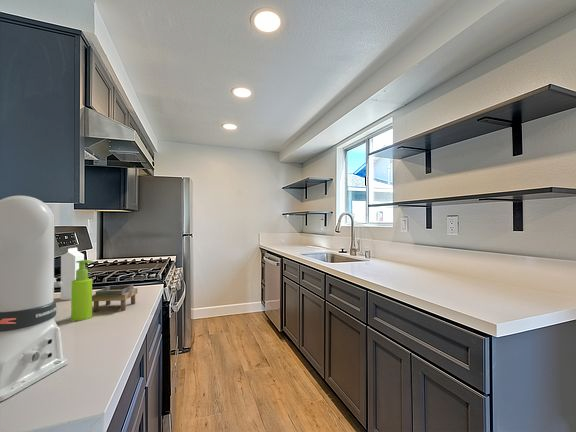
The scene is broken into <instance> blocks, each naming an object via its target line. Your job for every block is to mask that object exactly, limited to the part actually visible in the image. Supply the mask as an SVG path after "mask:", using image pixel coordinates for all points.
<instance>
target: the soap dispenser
mask: <svg viewBox="0 0 576 432" xmlns="http://www.w3.org/2000/svg"><path fill="white" fill-rule="evenodd" d="M94 262H95V261H93V260H91V259H84V260H81V261H76V263H79V269H78V270H76V280H73V281H72V282H71V300H70V302H71V306H70V307H71V310H70V311H71V312H70V313H71V316H70V317H71V318H70V320H71V321H72V322H77V321H85V320H89V319H91V318H92V317H93V301H92V295H93V278H89V270H88V268H86V264H94Z"/></svg>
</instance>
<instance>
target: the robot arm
mask: <svg viewBox="0 0 576 432" xmlns="http://www.w3.org/2000/svg"><path fill="white" fill-rule="evenodd" d="M61 286H62V282H61V281H57V278H56V277H55V215H54V213H53V211H52V209H51V208H50V206H49V205H47V204H46V203H45V202H44V201H42V200H40V199H38V198H37V197H33V196H30V195H29V196H28V195H12V196H7V197H4V198H2V199H0V402H3V401H5V400H8V398H11V397H12V396H14V395H16V394H18V393H19V392H21V391H23V390H24V389H26V388H28V387H30V386H31V385H33V384H35V383H37V382H38V381H40V380H42V379H43V378H45V377H47V376H49V375H51V374H52V373H54V372H56V371H57V370H60V369H61V368H62V367H64V366H66V365H68V358H67V357H65V356H64V355H63V354H64V353H63V345H62V336H61V335H62V334H61V329H60V327H59V325H58V324H57V322H56V320H55V316H56V315H57V309H58V307H57V301H56V300H55V288H61Z"/></svg>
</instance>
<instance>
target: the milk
mask: <svg viewBox="0 0 576 432" xmlns="http://www.w3.org/2000/svg"><path fill="white" fill-rule="evenodd" d="M81 260H85V254H84V253H82V252H80V251H79V250H78V247H70V248H68V249H67V252H66V253H64V254H63V255H60V282H62V286H61V287H60V300H61V301H71V282H72V281H73V280H76V270H78V269H79V263H76V261H81Z"/></svg>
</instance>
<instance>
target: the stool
mask: <svg viewBox="0 0 576 432" xmlns="http://www.w3.org/2000/svg"><path fill="white" fill-rule="evenodd" d="M137 294H138V288H137V287H136V288H134V284H120V285H116V284H114V285H108V286H106V287H103V288H101V289H98V290H96V291H95V294H92V302H93V312H94V311H95V312H94V313H97V312H99V309H100V308H99V306H100V305H99V304H100V302H105V306H110V305H111V303H112V302H113V301H114V302H115V301H116V302H117V301H120V312H125V311H126V305H127V304H126V300H128V299H130V304H131V305H135V304H136V295H137ZM96 311H97V312H96Z"/></svg>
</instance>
